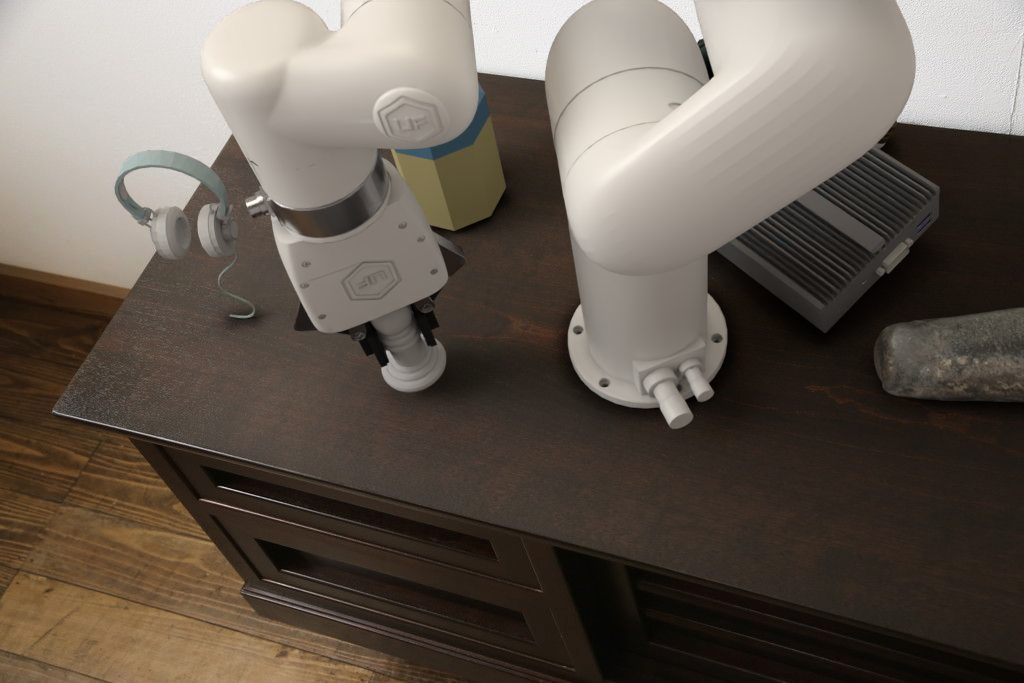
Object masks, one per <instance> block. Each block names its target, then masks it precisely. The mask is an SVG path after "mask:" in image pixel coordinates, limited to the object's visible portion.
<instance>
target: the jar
mask: <svg viewBox="0 0 1024 683" xmlns="http://www.w3.org/2000/svg"><path fill="white" fill-rule="evenodd" d="M477 78H478V79H479V73H478V72H477ZM478 88H479V94H478V105H477V110H476V113H475V115H474V118H473V120H472V122H471V123H470V125H469V126H468V127H467V129H466V130H465V131H464V132H463V133H461V134H460V135H459V136H458V137H456V138H454V139H453V140H451V141H449V142H446V143H444V144H440V145H437V146H434V147H428V148H421V149H390V152H391V155H392V157H393V160H394V164H395V168H396V169H397V170H398V172H399V173H400V174H401V176H402V177H403V178H404V180H405V181H406V183H407V184H408V186H409V187H410V189H411V191H412V192H413V194H414V196H415V198H416V199H417V201H418V203H419V205H420V207H421V209H422V211H423V213H424V215H425V217H426V219H427V221H428V223H429V225H430V226H432V227H436V228H440V229H445V230H449V231H453V232H455V231H457V230H460V229H463V228H465V227H467V226H470V225H472V224H474V223H477V222H479V221H482V220H484V219H486V218H489V217H491V216H492V215H493V213H494V211H495V209H496V207H497V205H498V203H499V202H500V200H501V197H503V194H504V192H505V190H506V188H507V184H506V180H505V175H504V171H503V166H502V163H501V157H500V153H499V148H498V145H497V139H496V135H495V131H494V127H493V121H492V117H491V113H490V109H489V102H488V100H487V99H488V98H487V94H486V92H485V90H484V89H483V87H482V85H481V84H480V82H479V81H478Z"/></svg>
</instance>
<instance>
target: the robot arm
mask: <svg viewBox="0 0 1024 683" xmlns="http://www.w3.org/2000/svg"><path fill="white" fill-rule="evenodd" d="M339 3H340V4H339V5H340V6H339V7H340V8H339V10H340V12H339V13H340V28H339V29H338V30H330V29H329V27H328V26H327V23H326V22H325V21H324V19H323V18H322V17H321V16H320V14H318V13H317V12H316V11H315V10H314V9H313V8H311V7H310V6H307V5H306V4H304V3H302V2H300V1H298V0H297V1H296V0H257V1H253V2H250V3H247V4H245V5H243V6H242V5H241V6H240V7H238V8H236V9H235V10H232V11H231V12H230V13H228V14H226V15H225V16H223V18H221V19H220V21H219V22H217V23H216V24H215V25H214V26H213V27H212V29H211V30H210V31H209V33H208V35H207V36H206V38H205V39H204V41H203V42H204V43H203V45H202V48H201V51H200V57H199V58H200V59H199V63H200V64H199V65H200V72H201V76H202V79H203V81H204V84H205V86H206V88H207V90H208V92H209V94H210V96H211V97H212V99H213V101H214V104H215V105H216V107H217V109H218V110H219V112H220V114H221V115H222V118H223V119H224V121H225V124H226V125H227V127H228V128H229V130H230V132H231V134H232V136H233V137H234V139H235V141H236V142H237V145H238V146H239V148H240V150H241V152H242V154H243V156H244V157H245V159H246V161H247V162H248V164H249V166H250V168H251V169H252V171H253V173H254V175H255V177H256V178H257V180H258V182H259V184H260V185H258V189H259V190H258V191H255V192H254V195H252V196H249V197H247V198H245V199H244V202H245V205H246V207H247V209H248V213H249V214H250V216H251V218H252V219H256V218H258V217H261V216H264V217H266V216H269V215H270V220H271V228H272V232H273V238H274V242H275V245H276V248H277V251H278V254H279V257H280V260H281V262H282V265H283V267H284V269H285V271H286V274H287V276H288V278H289V280H290V282H291V285H292V286H293V289H294V291H295V292H294V295H293V296H294V297H293V301H292V306H291V309H290V313H289V318H290V321H291V323H292V327H293V330H294V331H296V332H313V331H319V332H321V333H324V334H340V335H348V336H350V339H351V340H353V342H358V344H359V346H360V347H361V349H362V350H363V353H364V354H365V356H366V357H370V356H373V355H374V356H375V358H376V360H377V362H378V364H379V366H380V368H381V367H384V366H387V365H388V364H387V363H389V359H388V356H387V354H386V349H385V348H384V347H383V346H382V344H381V342H380V340H379V338H378V335H377V332H376V329H375V328H374V327H373V326H372V324H371V323H370V320H373V319H375V318H378V317H380V316H383V315H385V314H388V313H390V312H393V311H395V310H397V309H400V308H402V307H405V306H407V305H409V304H410V305H411V307H412V313H413V314H414V316H415V318H416V321H417V323H418V325H419V328H420V330H421V334H423V337H424V339H425V341H426V343H427V345H428V346H431V347H433V346H435V345H437V343H436V340H435V339H436V338H435V335H434V333H433V330H436V329H438V328H441V326H440V324H439V321H438V319H437V316H436V314H435V311H434V310H435V308H436V304H435V302H434V301H435V300H436V298H437V297H438V296H439V294H440V292H441V291H443V288H444V287H445V286H446V284H447V282H448V280H449V277H450V278H452V276H453V275H455V273H457V272H458V271H459V270H460V269H461V268H462V267H463V266H464V265H465V264H466V263H467V258H466V255H465V253H464V249H463V248H462V246H461V245H459V244H457V243H455V242H453V241H451V240H449V239H447V238H446V237H443V236H442V235H440V234H438V233H437V232H435V231H433V230H432V228H431V225H429V223H428V221H427V219H426V217H425V215H424V213H423V211H422V209H421V207H420V205H419V203H418V201H417V199H416V198H415V196H414V194H413V192H412V191H411V189H410V187H409V186H408V184H407V183H406V181H405V180H404V178H403V177H402V176H401V174H400V173H399V172H398V169H397V167H396V166H395V165H394V164H393V163H392V162H390V161H389V160H388V159H386V158H385V157H382V155H381V153H380V151H379V150H391V149H421V148H428V147H434V146H437V145H440V144H444V143H446V142H449V141H451V140H453V139H454V138H456V137H458V136H459V135H460V134H461V133H463V132H464V131H465V130H466V129H467V127H468V126H469V125H470V123H471V122H472V120H473V118H474V115H475V113H476V110H477V105H478V94H479V88H478V82H479V80H478V79H479V77H478V78H477V73H478V68H477V59H476V50H475V49H476V48H475V40H474V30H473V20H472V14H471V13H472V11H471V1H470V0H340V2H339ZM693 5H694V9H695V14H696V17H697V22H698V25H699V29H700V32H701V35H702V39H704V43H705V46H706V50H707V53H708V56H709V60H710V63H711V67H712V70H713V73H714V77H713V78H712V79H711V80H709V76H708V73H707V69H706V66H705V63H704V60H703V57H702V54H701V51H700V49H699V46H698V44H697V42H698V41H697V40H696V37H695V35H694V34H693V32H692V30H691V29H690V27H689V26H688V25H687V23H686V21H684V20H683V18H682V17H681V16H680V15H679V14H678V13H677V12H676V11H674V10H673V9H672V8H671V7H670V6H668V5H667V4H665V3H664V2H662V1H660V0H591V1H589V2H587V3H586V4H584V5H582V6H581V7H580V8H578V9H577V10H575V11H574V12H573V13H572V15H570V16H569V17H568V18H567V20H566V21H565V22H564V23H563V24H562V26H561V27H560V29H559V30H558V31H557V33H556V35H555V37H554V39H553V41H552V43H551V46H550V48H549V51H548V55H547V59H546V63H545V72H544V90H545V92H544V93H545V98H546V104H547V109H548V115H549V121H550V128H551V134H552V141H553V146H554V152H555V153H556V154H555V155H556V159H557V166H558V171H559V178H560V184H561V190H562V197H563V200H564V207H565V211H566V212H565V213H566V218H567V223H568V224H567V225H568V231H569V238H570V245H571V250H572V257H573V262H574V270H575V276H576V282H577V288H578V294H579V300H580V303H579V305H578V307H577V308H576V309H575V310H574V311H575V312H574V313H573V316H572V318H571V320H570V322H569V326H568V330H567V348H568V354H569V358H570V361H571V363H572V367H573V370H574V371H575V373H576V375H577V376H578V377H579V379H580V380H581V381H582V382H583V383H584V385H585V386H586V387H588V389H589V390H590V391H591V392H593V393H595V394H596V395H597V396H599V397H600V398H602V399H604V400H607V401H609V402H611V403H614V404H615V405H620V406H624V407H627V408H635V409H655V408H656V409H657V408H659V410H660V412H661V413H662V415H663V417H664V419H665V421H666V423H667V425H668V426H669V428H670V429H671V430H678V429H681V428H684V427H686V426H687V425H689V424H690V423H691V422H692V421H693V418H694V414H693V413H692V411H691V409H690V408H689V406H688V403H687V402H686V400H688V399H690V398H691V397H693V396H695V399H696V400H697V402H699V403H703V402H706V401H708V400H710V399H711V398H713V396H714V394H715V391H714V389H713V388H712V386H711V385H710V383H711V382H712V381H713V379H714V378H715V377H716V376H717V374H718V373H719V371H720V369H721V368H722V366H723V363H724V360H725V357H726V355H727V347H728V327H727V322H726V318H725V315H724V314H723V311H722V310H721V307H720V305H719V304H718V303H717V301H716V300H715V299H714V297H713V296H712V295H710V294H709V293H708V291H709V290H708V289H709V288H708V278H709V277H708V275H709V274H708V272H709V271H708V270H709V269H708V268H709V266H708V261H709V260H708V258H709V257H708V256H709V255H710V254H711V253H713V252H715V251H716V250H717V249H718V248H720V247H721V246H723V245H725V244H726V243H728V242H730V241H731V240H733V239H735V238H736V237H738V236H739V235H741V234H743V233H744V232H746V231H747V230H749V229H750V228H752V227H754V226H755V225H757V224H758V223H760V222H761V221H763V220H765V219H766V218H768V217H769V216H771V215H772V214H774V213H776V212H777V211H779V210H780V209H782V208H783V207H785V206H787V205H788V204H790V203H791V202H793V201H795V200H796V199H798V198H799V197H801V196H802V195H804V194H806V193H807V192H809V191H810V190H812V189H813V188H815V187H816V186H818V185H820V184H821V183H823V182H824V181H826V180H827V179H829V178H831V177H832V176H834V175H835V174H837V173H838V172H840V171H841V170H843V169H844V168H846V167H847V166H849V165H850V164H851V163H853V162H854V161H856V160H857V159H859V158H860V157H861V156H863V155H864V154H865V153H866V152H867V151H869V150H870V149H871V148H872V147H873V146H874V145H875V144H876V143H877V142H878V141H879V140H880V139H881V138H882V137H883V136H884V135H885V134H886V133H887V132H888V130H889V129H890V128H891V127H892V125H893V124H894V123H895V122H896V120H897V121H898V119H899V117H900V116H901V114H902V112H903V111H904V109H905V107H906V105H907V103H908V101H909V99H910V96H911V93H912V91H913V88H914V84H915V79H916V72H917V71H916V70H917V62H916V61H917V60H916V59H917V58H916V51H915V46H914V41H913V37H912V34H911V31H910V29H909V26H908V24H907V20H906V18H905V16H904V14H903V12H902V10H901V9H900V6H899V4H898V2H897V0H693Z"/></svg>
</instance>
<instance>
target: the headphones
mask: <svg viewBox="0 0 1024 683" xmlns="http://www.w3.org/2000/svg"><path fill="white" fill-rule="evenodd" d="M149 168H150V169H151V168H158V169H166V170H171V171H176V172H179V173H182V174H184V175H186V176H188V177H191V178H193V179H195V180H197V181H198V182H199V183H201V184H203V185H204V186H206V187H207V188H208V189H209V190H210V191H211V192H213V194H214V195H215V196H216V197H217V198H218V199H219V203H217V202H212V203H209V204H204V205H203V206H202V207H201V209H200V211H199V213H198V215H197V216H198V217H197V222H196V223H197V224H196V226H197V234H198V238H199V241H200V244H201V247H202V249H203V250H204V251H205V252H206V254H207V255H208V257H209V256H210V257H211V258H214V259H217V258H225V257H231V256H232V255H233V254H234V255H235V257H234V259H233V261H232V262H231V263H230V264H229V265H227V267H225V268H224V269H223V270H222V271H221V272H220V274H219V275H218V278H217V285H218V287H219V288H220V290H221V291H222V293H223V292H224V293H225V294H227V295H228V296H230V297H232V298H235V299H237V300H239V301H242V302H243V303H246V304H247V305H249V306H250V307H251V308H252V312H251V313H250V314H248V315H238V314H229V317H232V318H237V319H248V318H252V317H253V316H255V314H256V311H257V310H256V307H255V305H254V304H253V303H252V302H250V301H248V300H247V299H245V298H243V297H240V296H238V295H236V294H233V293H231V292H229V290H228V291H227V289H224V287H223V285H222V283H221V280H222V277H223V275H224V274H226V272H227V271H228V270H230V269H231V268H232V267H233V266H234V265H236V263H237V262H238V259H239V254H238V251H237V250H236V249H237V241H238V237H239V226H238V221H237V220H236V219H235V218H234V216H233V212H234V205H233V204H229V194H228V193H227V192H228V191H227V189H226V186H225V184H224V183H223V181H222V179H221V178H220V176H219V175H218V174H217V173H216V172H215V171H214V170H213V168H211V167H210V166H208V165H206V164H205V163H204V162H202V161H200V160H199V159H196V158H194V157H192V156H190V155H187V154H183V153H180V152H177V151H172V150H164V149H149V150H144V151H139V152H136V153H134V154H132V155H131V156H128V157H127V158H126V159H125V160H124V162H123V163H122V164H121V167H120V169H119V172H118V175H117V177H116V180H115V183H114V195H115V196H116V199H117V201H118V202H119V204H120V205H121V206H122V207H123V209H124V210H125V211H127V212H128V213H129V214H130V216H131V218H132V219H134V220H135V221H136V222H137V224H138V225H141V226H142V227H143V226H145V227H147V228H148V229H149V233H150V238H151V242H152V243H153V245H154V248H155V250H156V252H157V254H158V255H159V257H161V258H162V259H164V260H172V261H173V260H175V261H176V260H177V261H178V260H184V259H185V258H186V257H187V255H188V254H189V252H190V250H191V247H192V230H191V224H190V221H189V218H188V216H187V215H186V213H185V212H184V211H183V209H181V208H180V207H178V206H175V205H172V206H170V205H169V206H164V207H158V208H157V209H155V210H153V209H152V208H150V207H148V206H143V207H142V206H141V205H140V204H139V203H137V202H136V201H135V200H134V199H133V198H132V196H131V195H130V194H129V192H128V190H127V188H126V183H125V177H126V176H127V175H129V174H130V173H132V172H134V171H137V170H140V169H149ZM151 215H152V217H151ZM150 222H151V223H150ZM149 223H150V224H151V225H150V224H149Z"/></svg>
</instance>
